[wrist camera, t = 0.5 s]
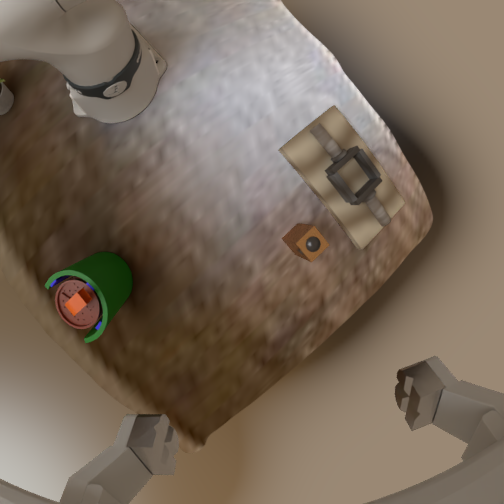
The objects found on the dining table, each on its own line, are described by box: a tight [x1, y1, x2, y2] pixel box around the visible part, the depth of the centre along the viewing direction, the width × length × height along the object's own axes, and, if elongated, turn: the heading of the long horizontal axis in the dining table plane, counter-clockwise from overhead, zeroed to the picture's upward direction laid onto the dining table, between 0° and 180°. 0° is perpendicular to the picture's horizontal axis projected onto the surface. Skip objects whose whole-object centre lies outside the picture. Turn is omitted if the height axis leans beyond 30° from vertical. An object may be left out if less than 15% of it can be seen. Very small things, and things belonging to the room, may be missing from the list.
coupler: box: [282, 224, 329, 262], centre depth 50 cm, size 4×4×8 cm
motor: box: [45, 252, 133, 343], centre depth 39 cm, size 10×9×20 cm
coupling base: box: [279, 106, 405, 250], centre depth 51 cm, size 24×14×5 cm, turn 42°
